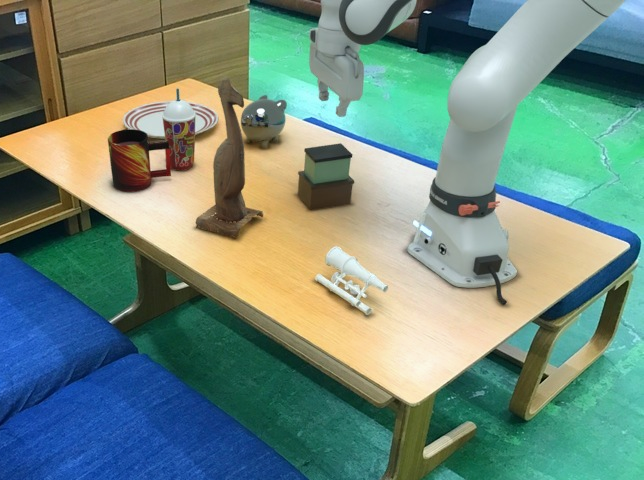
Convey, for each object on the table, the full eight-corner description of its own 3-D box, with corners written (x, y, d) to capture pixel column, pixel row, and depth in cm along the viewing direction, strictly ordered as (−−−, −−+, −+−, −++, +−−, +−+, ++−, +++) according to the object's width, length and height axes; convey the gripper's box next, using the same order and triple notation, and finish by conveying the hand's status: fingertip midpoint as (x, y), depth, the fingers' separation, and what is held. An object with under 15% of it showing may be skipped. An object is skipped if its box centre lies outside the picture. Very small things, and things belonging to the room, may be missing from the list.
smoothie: (193, 174, 172) (190, 95, 159) (162, 172, 174) (156, 94, 161) (200, 160, 178) (197, 83, 166) (169, 158, 180) (164, 82, 167)
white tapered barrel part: (372, 319, 126) (360, 311, 122) (322, 285, 135) (309, 276, 131) (398, 284, 125) (386, 274, 121) (345, 252, 134) (333, 242, 130)
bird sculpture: (240, 241, 146) (242, 93, 126) (194, 228, 151) (188, 83, 131) (264, 218, 153) (269, 75, 133) (219, 207, 158) (217, 66, 138)
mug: (172, 179, 170) (170, 133, 162) (125, 196, 164) (120, 149, 157) (152, 166, 176) (148, 121, 169) (106, 182, 170) (100, 136, 163)
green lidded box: (349, 179, 154) (352, 154, 150) (312, 184, 152) (315, 159, 149) (338, 167, 159) (341, 143, 155) (302, 172, 157) (304, 148, 154)
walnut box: (351, 204, 157) (354, 180, 153) (309, 211, 155) (311, 187, 152) (337, 188, 163) (339, 165, 160) (296, 194, 162) (298, 171, 158)
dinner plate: (184, 103, 211) (183, 92, 209) (237, 130, 193) (237, 118, 191) (106, 125, 199) (105, 113, 197) (156, 155, 181) (155, 144, 179)
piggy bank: (296, 138, 187) (298, 97, 180) (261, 156, 179) (262, 113, 172) (264, 128, 193) (266, 88, 186) (229, 145, 185) (229, 103, 178)
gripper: (376, 53, 130) (366, 124, 138) (334, 25, 145) (327, 90, 154) (345, 57, 128) (337, 127, 137) (306, 28, 144) (301, 93, 153)
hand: (331, 107), depth 146 cm, fingers open, 8 cm apart
